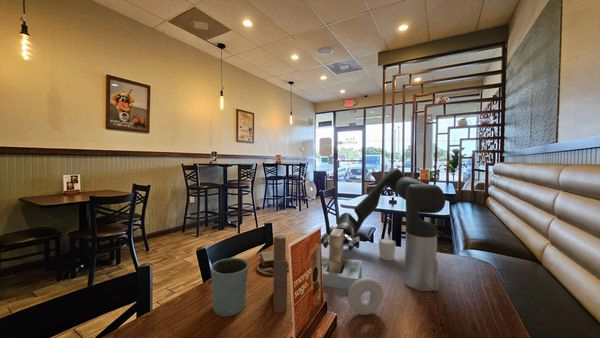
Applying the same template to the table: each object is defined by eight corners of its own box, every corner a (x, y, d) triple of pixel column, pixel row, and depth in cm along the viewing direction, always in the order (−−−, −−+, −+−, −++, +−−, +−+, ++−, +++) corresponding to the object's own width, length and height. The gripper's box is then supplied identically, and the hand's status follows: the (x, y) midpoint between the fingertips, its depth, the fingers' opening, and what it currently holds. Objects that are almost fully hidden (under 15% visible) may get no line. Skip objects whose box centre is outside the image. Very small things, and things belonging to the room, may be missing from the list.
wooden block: (273, 313, 68) (273, 247, 67) (273, 291, 78) (273, 234, 77) (287, 312, 68) (287, 247, 67) (284, 291, 79) (285, 234, 78)
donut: (350, 320, 65) (351, 283, 64) (345, 312, 68) (345, 276, 68) (385, 315, 67) (386, 278, 67) (378, 307, 70) (379, 272, 70)
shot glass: (377, 254, 109) (377, 238, 109) (393, 254, 108) (393, 238, 108) (379, 260, 103) (380, 243, 102) (397, 261, 102) (397, 244, 101)
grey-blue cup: (218, 296, 76) (218, 257, 75) (252, 297, 75) (252, 257, 75) (205, 318, 65) (204, 273, 65) (243, 319, 65) (243, 273, 65)
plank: (342, 272, 91) (343, 229, 91) (339, 283, 84) (340, 236, 83) (333, 271, 92) (333, 228, 92) (328, 281, 85) (329, 235, 84)
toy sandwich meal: (257, 278, 87) (257, 265, 87) (255, 262, 100) (255, 250, 100) (293, 275, 90) (293, 262, 90) (286, 260, 103) (286, 248, 103)
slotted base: (361, 271, 92) (361, 260, 92) (357, 291, 79) (357, 279, 79) (319, 265, 97) (319, 255, 97) (308, 283, 84) (308, 271, 84)
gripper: (327, 223, 106) (317, 234, 91) (361, 226, 102) (358, 238, 86) (326, 240, 106) (317, 254, 91) (361, 244, 102) (357, 260, 86)
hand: (337, 246), depth 89 cm, fingers open, 8 cm apart
